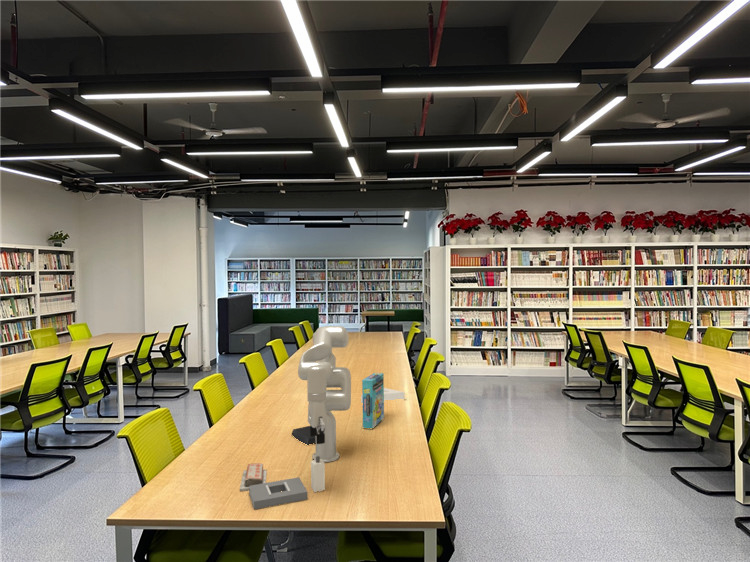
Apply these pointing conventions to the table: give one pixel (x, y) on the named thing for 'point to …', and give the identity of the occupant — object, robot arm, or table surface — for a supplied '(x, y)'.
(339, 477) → the table surface
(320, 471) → the charger plug
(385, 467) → the table surface
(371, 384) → the game box
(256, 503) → the plate
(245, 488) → the packaged product
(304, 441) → the black angular slab
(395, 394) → the triangle block
